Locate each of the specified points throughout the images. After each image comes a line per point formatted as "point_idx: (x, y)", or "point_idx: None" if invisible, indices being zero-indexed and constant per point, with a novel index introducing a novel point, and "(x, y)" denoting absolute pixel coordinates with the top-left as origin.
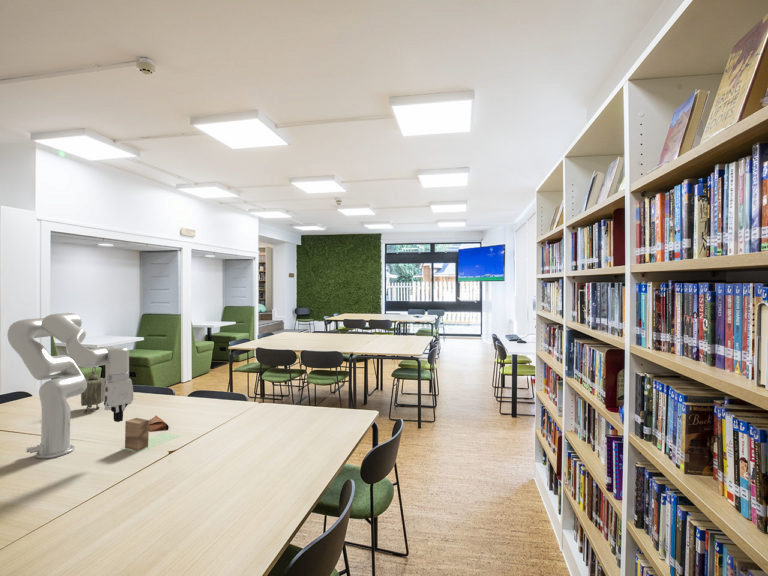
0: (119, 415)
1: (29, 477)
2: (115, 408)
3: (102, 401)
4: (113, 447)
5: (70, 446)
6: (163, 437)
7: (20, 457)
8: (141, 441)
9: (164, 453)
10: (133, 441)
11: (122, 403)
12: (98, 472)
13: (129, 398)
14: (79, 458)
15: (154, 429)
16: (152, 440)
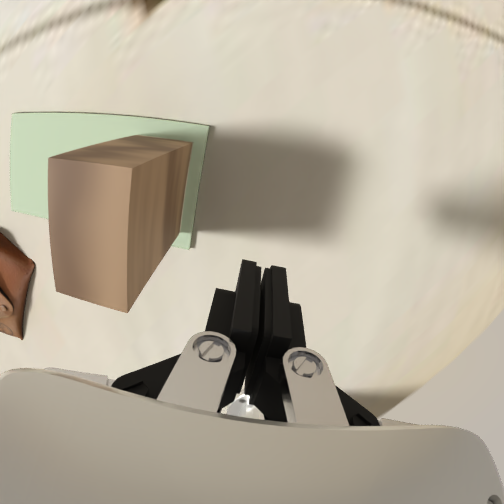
0: (283, 307)
1: (440, 336)
2: (341, 412)
3: None
4: (180, 293)
5: (239, 406)
6: (39, 169)
7: None
8: (158, 143)
9: (176, 10)
10: (175, 184)
11: (289, 439)
12: (418, 150)
13: (52, 465)
14: (305, 327)
15: (17, 263)
16: None
